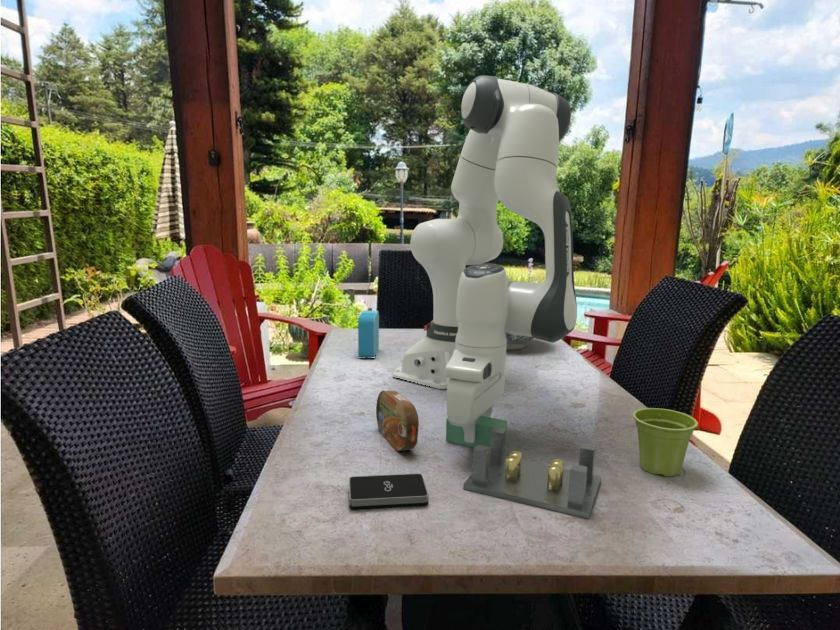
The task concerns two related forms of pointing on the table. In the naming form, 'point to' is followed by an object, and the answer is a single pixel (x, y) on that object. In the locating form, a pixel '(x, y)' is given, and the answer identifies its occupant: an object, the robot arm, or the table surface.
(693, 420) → the plant pot
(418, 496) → the external hard drive
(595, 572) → the table surface
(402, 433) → the tin
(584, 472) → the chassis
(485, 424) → the green rectangular block
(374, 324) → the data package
